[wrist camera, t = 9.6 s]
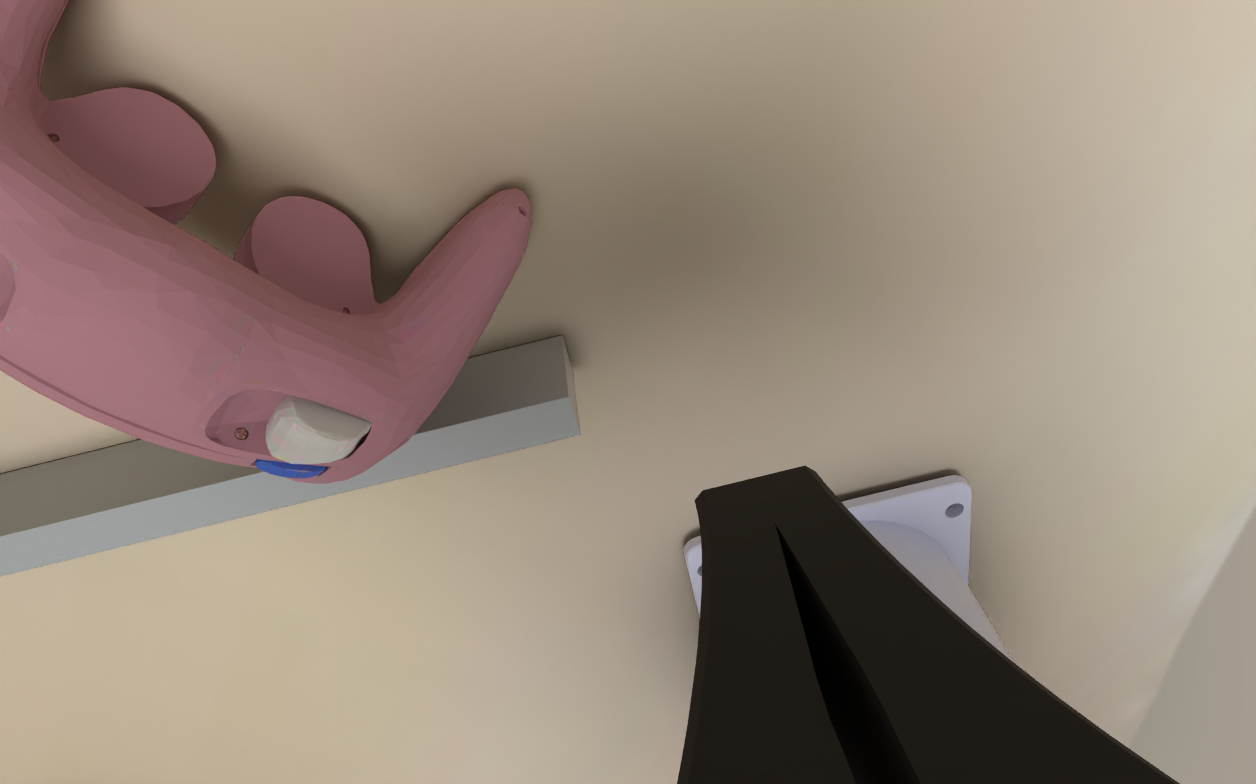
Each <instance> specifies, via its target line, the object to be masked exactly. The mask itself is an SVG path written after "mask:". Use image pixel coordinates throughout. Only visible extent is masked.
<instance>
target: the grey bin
mask: <svg viewBox="0 0 1256 784" xmlns="http://www.w3.org/2000/svg"><path fill="white" fill-rule="evenodd" d="M577 435H580V427H579V418H578V410H577V401H576V393H575V384H574V376H573V369H572V366H571V363H570V360H569V356H568V353H567V350H566V346H565V343H564V340H563V337H562V335H561V336H557V337H553V338H549V339H545V340H541V341H537V342H533V343H529V344H525V345H521V346H517V347H513V348H508V349H504V350H500V351H496V352H492V353H488V354H484V355H480V356H476V357H472V358H468V359H467V360H466V362H465V364H464V365H463V367H462V368H461V370H460V371H459V373H458V375H457V376H456V378H455V380H454V381H453V383H452V384H451V386H450V387H449V389H448V390H447V391H446V393H445V394H444V396H443V397H442V399H441V400H440V402H439V403H438V404H437V406H436V407H435V408H434V410H433V411H432V412H431V413H430V415H429V416H428V417H427V418H426V420H425V421H424V422H423V423H422V425H421V426H420V427H419V428H418V430H417V431H416V432H415V433H414V435H413V436H412V437H411V438H410V440H409V441H408V442H406V443H405V444H404V445H403V446H401V447H400V448H398V449H397V450H395V451H394V452H392V453H391V454H390V455H388V456H387V457H385V458H384V459H382V460H381V461H379V462H378V463H376V464H375V465H373V466H372V467H370V468H369V469H368V470H366V471H365V472H363V473H361V474H359V475H357V476H355V477H352V478H350V479H348V480H345V481H339V482H333V483H328V484H313V483H304V482H296V481H293V480H290V479H287V478H284V477H281V476H276V475H272V474H269V473H267V472H265V471H263V470H260V469H258V468H252V467H245V466H239V465H233V464H227V463H221V462H216V461H213V460H209V459H205V458H202V457H198V456H195V455H191V454H187V453H184V452H180V451H177V450H174V449H170V448H167V447H164V446H161V445H157V444H154V443H151V442H147V441H144V440H142V439H141V440H137V441H133V442H129V443H125V444H120V445H116V446H112V447H108V448H104V449H100V450H96V451H92V452H88V453H84V454H80V455H76V456H72V457H68V458H64V459H60V460H56V461H52V462H48V463H44V464H40V465H36V466H32V467H28V468H23V469H19V470H15V471H11V472H7V473H3V474H0V576H4V575H9V574H13V573H17V572H21V571H25V570H29V569H33V568H37V567H41V566H45V565H49V564H54V563H58V562H62V561H66V560H70V559H74V558H78V557H82V556H86V555H90V554H94V553H99V552H103V551H107V550H111V549H115V548H119V547H123V546H127V545H131V544H135V543H139V542H143V541H148V540H152V539H156V538H160V537H164V536H168V535H172V534H176V533H180V532H184V531H188V530H193V529H197V528H201V527H205V526H209V525H213V524H217V523H221V522H225V521H229V520H233V519H238V518H242V517H246V516H250V515H254V514H258V513H262V512H266V511H270V510H274V509H278V508H282V507H287V506H291V505H295V504H299V503H303V502H307V501H311V500H315V499H319V498H323V497H327V496H332V495H336V494H340V493H344V492H348V491H352V490H356V489H360V488H364V487H368V486H372V485H377V484H381V483H385V482H389V481H393V480H397V479H401V478H405V477H409V476H413V475H417V474H422V473H426V472H430V471H434V470H438V469H442V468H446V467H450V466H454V465H458V464H462V463H466V462H471V461H475V460H479V459H483V458H487V457H491V456H495V455H499V454H503V453H507V452H511V451H516V450H520V449H524V448H528V447H532V446H536V445H540V444H544V443H548V442H552V441H556V440H561V439H565V438H569V437H573V436H577Z"/></svg>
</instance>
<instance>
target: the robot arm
mask: <svg viewBox="0 0 1256 784" xmlns="http://www.w3.org/2000/svg"><path fill="white" fill-rule="evenodd" d="M695 503H696V508H697V512H698V517H699V524H700V533H701V536H697V537H695V538H692V539H691V540H690V541H688V542H687V543H686V545H685V547H684V556H685V560H686V564H687V568H688V572H689V576H690V580H691V584H692V588H693V592H694V596H695V600H696V604H697V608H698V613H699V617H700V622H699V637H698V649H697V659H696V667H695V674H694V682H693V689H692V696H691V704H690V711H689V718H688V726H687V732H686V738H685V744H684V749H683V755H682V761H681V766H680V771H679V776H678V782H677V784H1179V783H1178V782H1176V781H1175V780H1174V779H1172V778H1171V777H1169V776H1168V775H1166V774H1165V773H1163V772H1162V771H1160V770H1159V769H1158V768H1156V767H1155V766H1153V765H1152V764H1150V763H1149V762H1147V761H1146V760H1144V759H1143V758H1142V757H1140V756H1139V755H1137V754H1136V753H1135V752H1133V751H1131V750H1130V749H1129V748H1127V747H1126V746H1124V745H1123V744H1122V743H1120V742H1119V741H1117V740H1116V739H1114V738H1113V737H1111V736H1110V735H1109V734H1107V733H1106V732H1104V731H1103V730H1102V729H1100V728H1099V727H1098V726H1096V725H1095V724H1094V723H1092V722H1091V721H1090V720H1088V719H1087V718H1085V717H1084V716H1083V715H1081V714H1080V713H1079V712H1077V711H1076V710H1075V709H1073V708H1072V707H1070V706H1069V705H1068V704H1066V703H1065V702H1064V701H1062V700H1061V699H1060V698H1058V697H1057V696H1056V695H1054V694H1053V693H1052V692H1051V691H1049V690H1048V689H1047V688H1045V687H1044V686H1043V685H1041V684H1040V683H1039V682H1038V681H1036V680H1035V679H1034V678H1032V677H1031V676H1030V675H1029V674H1027V673H1026V672H1025V671H1024V670H1022V669H1021V668H1020V667H1019V666H1017V665H1016V664H1015V663H1014V661H1013V659H1012V658H1011V656H1010V654H1009V653H1008V651H1007V649H1006V648H1005V646H1004V645H1003V643H1002V641H1001V640H1000V638H999V636H998V635H997V633H996V631H995V630H994V628H993V627H992V625H991V623H990V622H989V620H988V618H987V617H986V615H985V613H984V612H983V610H982V608H981V607H980V605H979V604H978V602H977V600H976V599H975V597H974V595H973V594H972V592H971V590H970V589H969V587H968V577H969V553H970V528H971V504H972V490H971V487H970V485H969V484H968V482H967V481H966V480H965V479H964V478H963V477H962V476H958V475H951V476H946V477H942V478H937V479H933V480H929V481H925V482H921V483H917V484H913V485H908V486H904V487H900V488H896V489H892V490H888V491H884V492H879V493H875V494H871V495H867V496H863V497H859V498H854V499H850V500H846V501H842V502H841V501H840V500H839V499H838V498H837V497H836V496H835V494H834V493H833V492H832V491H831V490H830V489H829V487H828V486H827V485H826V484H825V483H824V482H823V480H822V479H821V478H820V477H819V475H818V474H817V473H816V472H815V471H814V470H812V469H810V468H808V467H807V466H802V467H798V468H794V469H790V470H785V471H781V472H777V473H773V474H769V475H765V476H761V477H757V478H752V479H748V480H744V481H740V482H736V483H732V484H728V485H724V486H719V487H715V488H711V489H707V490H703V491H702V492H701V493H700V494H699V496H698V497H697V498H696V499H695ZM953 504H954V505H953ZM950 505H953V506H951V507H949V506H950ZM948 507H949V508H948ZM701 565H702V566H701Z"/></svg>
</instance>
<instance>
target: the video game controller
mask: <svg viewBox="0 0 1256 784" xmlns="http://www.w3.org/2000/svg"><path fill="white" fill-rule="evenodd" d="M68 1H69V0H0V370H1V371H2V372H4V373H6V374H7V375H9V376H11V377H12V378H14V379H16V380H17V381H19V382H21V383H22V384H24V385H26V386H27V387H29V388H31V389H32V390H34V391H36V392H37V393H39V394H41V395H43V396H45V397H47V398H49V399H51V400H53V401H55V402H57V403H59V404H61V405H63V406H65V407H67V408H69V409H71V410H73V411H75V412H77V413H79V414H81V415H83V416H86V417H88V418H90V419H93V420H95V421H98V422H100V423H103V424H105V425H108V426H110V427H112V428H115V429H117V430H120V431H122V432H125V433H127V434H129V435H132V436H134V437H137V438H139V439H142V440H144V441H147V442H151V443H154V444H157V445H161V446H164V447H167V448H170V449H174V450H177V451H180V452H184V453H187V454H191V455H195V456H198V457H202V458H205V459H209V460H213V461H216V462H221V463H227V464H233V465H239V466H245V467H252V468H258V469H260V470H263V471H265V472H267V473H269V474H272V475H276V476H281V477H284V478H287V479H290V480H293V481H296V482H304V483H313V484H328V483H333V482H339V481H345V480H348V479H350V478H352V477H355V476H357V475H359V474H361V473H363V472H365V471H366V470H368V469H369V468H370V467H372V466H373V465H375V464H376V463H378V462H379V461H381V460H382V459H384V458H385V457H387V456H388V455H390V454H391V453H392V452H394V451H395V450H397V449H398V448H400V447H401V446H403V445H404V444H405V443H406V442H408V441H409V440H410V438H411V437H412V436H413V435H414V433H415V432H416V431H417V430H418V428H419V427H420V426H421V425H422V423H423V422H424V421H425V420H426V418H427V417H428V416H429V415H430V413H431V412H432V411H433V410H434V408H435V407H436V406H437V404H438V403H439V402H440V400H441V399H442V397H443V396H444V394H445V393H446V391H447V390H448V389H449V387H450V386H451V384H452V383H453V381H454V380H455V378H456V376H457V375H458V373H459V371H460V370H461V368H462V367H463V365H464V364H465V362H466V360H467V358H468V357H469V355H470V353H471V351H472V350H473V348H474V346H475V344H476V343H477V341H478V339H479V337H480V336H481V334H482V332H483V330H484V328H485V327H486V325H487V323H488V321H489V320H490V318H491V316H492V314H493V312H494V311H495V309H496V307H497V305H498V303H499V301H500V299H501V298H502V296H503V294H504V292H505V290H506V288H507V287H508V285H509V283H510V281H511V279H512V277H513V275H514V274H515V272H516V270H517V268H518V266H519V264H520V262H521V259H522V257H523V254H524V252H525V250H526V246H527V242H528V237H529V233H530V229H531V216H532V213H531V203H530V201H529V198H528V196H527V195H526V194H525V193H524V192H523V191H522V190H519V189H516V188H512V189H506V190H501V191H499V192H498V193H496V194H494V195H493V196H491V197H490V198H488V199H487V200H486V201H485V202H483V203H481V204H480V205H479V206H477V207H476V208H474V209H473V210H472V211H470V212H469V213H468V214H467V215H466V216H465V217H463V218H462V219H461V220H460V221H459V222H458V223H457V224H456V225H455V226H454V227H453V228H452V229H451V230H450V231H449V232H448V233H447V234H446V235H445V237H444V238H443V239H442V240H441V241H440V242H439V243H438V244H437V245H436V246H435V247H434V248H433V250H432V251H431V252H430V253H429V254H428V255H427V256H426V257H425V258H424V259H423V260H422V261H421V263H420V264H419V265H418V266H417V267H416V268H415V269H414V270H413V272H412V273H411V274H410V276H409V277H408V278H407V280H406V281H405V282H404V284H403V285H402V286H401V288H400V289H399V290H398V292H397V293H396V294H395V295H394V296H393V297H392V298H390V299H389V300H387V301H386V302H384V303H381V304H378V302H377V301H376V300H375V299H374V294H373V288H372V283H371V270H370V255H369V250H368V247H367V243H366V240H365V238H364V236H363V235H362V233H361V231H360V230H359V229H358V227H357V226H356V225H355V224H354V223H353V222H352V221H351V220H350V219H349V218H348V217H347V216H346V215H345V214H343V213H342V212H340V211H339V210H337V209H335V208H334V207H332V206H330V205H328V204H326V203H324V202H321V201H318V200H314V199H311V198H306V197H302V196H287V197H281V198H278V199H276V200H274V201H272V202H270V203H268V204H266V205H265V206H264V207H263V209H262V210H261V211H260V212H259V214H258V215H257V216H256V218H255V219H254V221H253V222H252V223H251V225H250V226H249V228H248V229H247V231H246V232H245V234H244V235H243V237H242V238H241V240H240V241H239V243H238V246H237V249H236V252H235V254H234V260H233V259H231V258H230V257H228V256H226V255H225V254H223V253H221V252H220V251H218V250H217V249H215V248H213V247H212V246H210V245H208V244H207V243H205V242H203V241H202V240H200V239H198V238H196V237H195V236H193V235H191V234H189V233H187V232H186V231H184V230H182V229H180V228H179V227H177V226H175V225H174V224H176V223H177V222H178V221H180V220H181V219H182V218H184V217H185V216H186V215H187V214H188V213H189V212H190V210H191V209H192V207H193V206H194V204H195V202H196V201H197V199H198V198H199V197H201V196H202V194H203V192H204V191H205V189H206V188H207V186H208V185H209V183H210V182H211V180H212V179H213V176H214V173H215V170H216V156H215V152H214V148H213V145H212V144H211V142H210V140H209V138H208V137H207V135H206V134H205V132H204V131H203V129H202V128H201V126H200V125H199V124H198V123H197V122H196V121H195V120H194V119H193V118H191V117H190V116H189V115H188V114H187V113H186V112H185V111H184V110H182V109H181V108H180V107H179V106H178V105H176V104H174V103H172V102H170V101H168V100H167V99H165V98H163V97H161V96H159V95H157V94H155V93H153V92H149V91H145V90H141V89H134V88H127V87H120V88H112V89H105V90H100V91H96V92H92V93H89V94H85V95H81V96H78V97H72V98H65V99H58V100H52V101H50V100H49V99H47V98H45V97H44V95H43V93H42V91H41V90H40V82H41V77H42V72H43V66H44V61H45V55H46V50H47V45H48V42H49V40H50V38H51V36H52V34H53V32H54V30H55V28H56V26H57V24H58V22H59V20H60V18H61V16H62V14H63V12H64V10H65V8H66V6H67V4H68Z"/></svg>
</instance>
